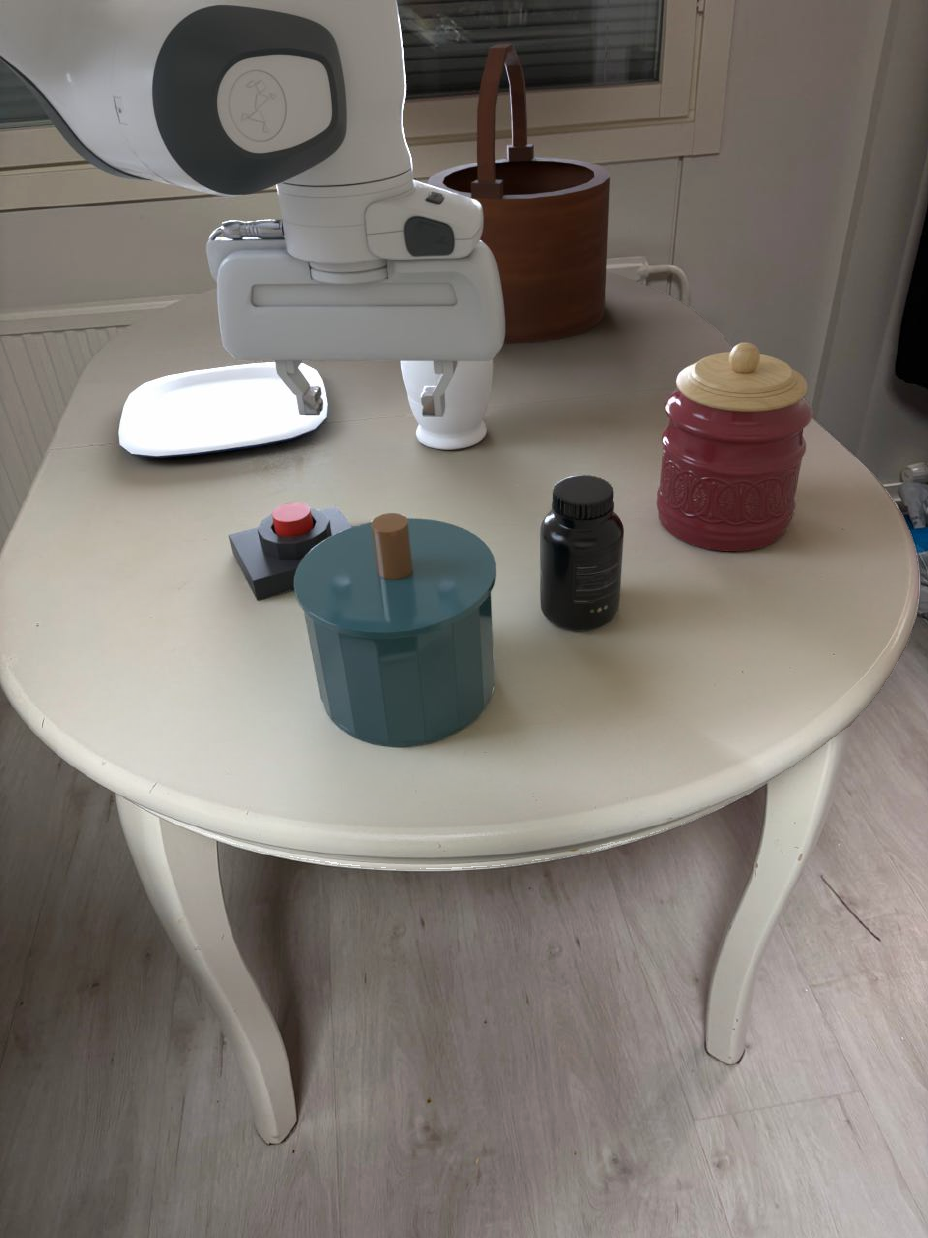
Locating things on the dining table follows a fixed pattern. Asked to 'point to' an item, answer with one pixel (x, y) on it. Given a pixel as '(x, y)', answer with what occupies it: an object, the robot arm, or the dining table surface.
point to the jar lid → (395, 577)
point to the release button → (292, 519)
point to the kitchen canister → (733, 450)
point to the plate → (215, 411)
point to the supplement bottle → (581, 555)
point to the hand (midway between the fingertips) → (372, 413)
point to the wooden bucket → (536, 219)
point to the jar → (451, 403)
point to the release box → (280, 551)
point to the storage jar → (406, 680)
